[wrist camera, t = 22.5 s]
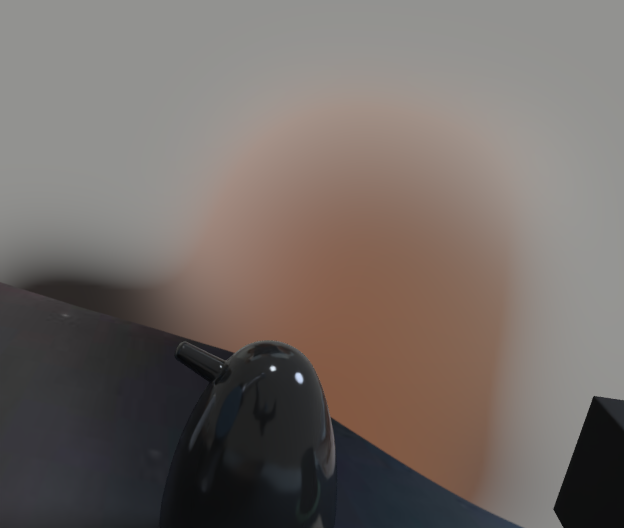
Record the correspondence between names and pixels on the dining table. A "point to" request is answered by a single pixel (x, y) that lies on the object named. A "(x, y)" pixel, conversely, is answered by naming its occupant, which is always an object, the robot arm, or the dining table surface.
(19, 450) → the dining table surface
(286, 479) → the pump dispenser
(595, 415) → the robot arm
